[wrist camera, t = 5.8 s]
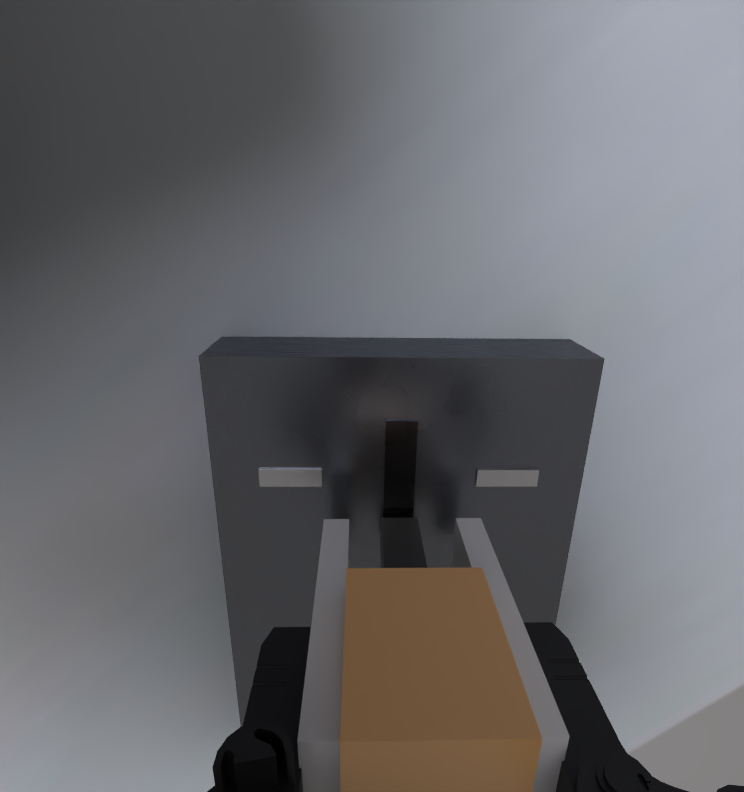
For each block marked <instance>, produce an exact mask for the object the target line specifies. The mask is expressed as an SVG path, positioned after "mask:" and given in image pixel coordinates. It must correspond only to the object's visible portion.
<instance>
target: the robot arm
mask: <svg viewBox="0 0 744 792" xmlns="http://www.w3.org/2000/svg"><path fill="white" fill-rule="evenodd" d="M481 567H482V569H483V571H484V574H485V577H486V580H487V583H488V586H489V589H490V591H491V594H492V597H493V600H494V603H495V606H496V608H497V611H498V614H499V617H500V620H501V623H502V625H503V628H504V631H505V634H506V637H507V640H508V642H509V645H510V648H511V651H512V654H513V657H514V659H515V662H516V665H517V668H518V671H519V674H520V676H521V679H522V682H523V685H524V688H525V691H526V693H527V696H528V699H529V702H530V705H531V708H532V711H533V713H534V716H535V719H536V722H537V725H538V728H539V730H540V733H541V736H542V744H541V749H540V754H539V759H538V764H537V769H536V775H535V780H534V785H533V790H532V792H688V791H685V790H682V789H678V788H676V787H673V786H670V785H668V784H665V783H663V782H660V781H659V780H657V779H656V778H654V777H652V776H651V774H650V773H649V772H648V771H647V770H646V769H645V768H644V767H643V766H642V765H641V764H640V763H639V762H638V760H636V759H634V758H633V757H631V756H630V755H628V754H627V753H626V751H625V749H624V748H623V746H622V745H621V743H620V741H619V739H618V737H617V735H616V733H615V731H614V729H613V727H612V725H611V723H610V721H609V719H608V717H607V715H606V713H605V711H604V709H603V707H602V705H601V703H600V701H599V699H598V697H597V695H596V693H595V691H594V689H593V687H592V685H591V683H590V681H589V680H588V679H587V675H586V673H585V671H584V669H583V667H582V665H581V663H579V659H578V657H577V655H576V653H575V651H574V649H573V647H572V645H571V643H570V641H569V639H568V638H567V637H566V636H565V635H564V634H563V633H562V632H561V631H560V630H559V629H558V628H557V627H556V626H555V625H554V624H553V623H552V622H526V623H523V620H522V618H521V616H520V613H519V611H518V608H517V606H516V603H515V601H514V598H513V596H512V593H511V591H510V589H509V586H508V584H507V581H506V579H505V576H504V574H503V571H502V569H501V566H500V564H499V562H498V559H497V557H496V554H495V552H494V549H493V547H492V544H491V542H490V539H489V537H488V535H487V532H486V530H485V527H484V525H483V522H482V520H481V518H456V522H455V535H454V548H453V560H452V568H481ZM346 568H350V552H349V519H324V522H323V531H322V539H321V547H320V556H319V564H318V573H317V581H316V589H315V598H314V606H313V615H312V623H311V627H274V628H273V629H272V631H271V632H270V633H269V635H268V636H267V638H266V639H265V640H264V642H263V643H262V645H261V648H260V653H259V657H258V661H257V668H256V670H255V674H254V679H253V685H252V687H251V692H250V696H249V700H248V705H247V709H246V713H245V718H244V722H243V726H242V727H240V728H239V729H238V730H236V731H235V732H234V733H232V734H231V735H230V736H229V737H227V739H226V740H225V741H224V743H223V744H222V746H221V747H220V749H219V750H218V751H217V755H216V758H215V761H214V765H213V773H214V780H215V786H214V787H213V788H211V789H210V790H209V791H208V792H340V724H341V697H342V671H343V645H344V619H345V592H346ZM717 792H744V786H736V785H727V786H725V787H722V788H720V789H718V790H717Z"/></svg>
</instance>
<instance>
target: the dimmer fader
mask: <svg viewBox="0 0 744 792" xmlns="http://www.w3.org/2000/svg"><path fill="white" fill-rule="evenodd" d="M380 556H381V568H346V592H345V619H344V645H343V671H342V697H341V724H340V792H532V790H533V785H534V780H535V775H536V769H537V764H538V759H539V754H540V749H541V744H542V736H541V733H540V730H539V728H538V725H537V722H536V719H535V716H534V713H533V711H532V708H531V705H530V702H529V699H528V696H527V693H526V691H525V688H524V685H523V682H522V679H521V676H520V674H519V671H518V668H517V665H516V662H515V659H514V657H513V654H512V651H511V648H510V645H509V642H508V640H507V637H506V634H505V631H504V628H503V625H502V623H501V620H500V617H499V614H498V611H497V608H496V606H495V603H494V600H493V597H492V594H491V591H490V589H489V586H488V583H487V580H486V577H485V574H484V571H483V569H482V567H481V568H427V563H426V558H425V553H424V548H423V543H422V538H421V533H420V527H419V522H418V518H381V527H380Z"/></svg>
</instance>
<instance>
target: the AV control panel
mask: <svg viewBox="0 0 744 792" xmlns="http://www.w3.org/2000/svg"><path fill="white" fill-rule="evenodd" d="M199 361H200V370H201V379H202V388H203V396H204V405H205V414H206V423H207V432H208V440H209V449H210V458H211V467H212V476H213V485H214V493H215V502H216V511H217V520H218V529H219V538H220V546H221V555H222V564H223V573H224V582H225V591H226V599H227V608H228V617H229V626H230V635H231V643H232V652H233V661H234V670H235V679H236V688H237V696H238V705H239V714H240V723H241V727H242V726H243V722H244V718H245V713H246V709H247V705H248V700H249V696H250V692H251V687H252V685H253V679H254V674H255V670H256V668H257V661H258V657H259V653H260V648H261V645H262V643H263V642H264V640H265V639H266V638H267V636H268V635H269V633H270V632H271V631H272V629H273V628H274V627H311V623H312V615H313V606H314V598H315V589H316V581H317V573H318V564H319V556H320V547H321V539H322V531H323V522H324V519H349V552H350V568H381V556H380V527H381V518H418V522H419V527H420V533H421V538H422V543H423V548H424V553H425V558H426V563H427V568H452V560H453V548H454V535H455V522H456V518H481V520H482V522H483V525H484V527H485V530H486V532H487V535H488V537H489V539H490V542H491V544H492V547H493V549H494V552H495V554H496V557H497V559H498V562H499V564H500V566H501V569H502V571H503V574H504V576H505V579H506V581H507V584H508V586H509V589H510V591H511V593H512V596H513V598H514V601H515V603H516V606H517V608H518V611H519V613H520V616H521V618H522V620H523V623H526V622H552V623H553V624H554V625H555V623H556V618H557V612H558V607H559V601H560V596H561V590H562V585H563V580H564V574H565V569H566V563H567V558H568V553H569V547H570V542H571V536H572V531H573V526H574V520H575V515H576V509H577V504H578V498H579V493H580V488H581V482H582V477H583V471H584V466H585V461H586V455H587V450H588V444H589V439H590V434H591V428H592V423H593V417H594V412H595V407H596V401H597V396H598V390H599V385H600V379H601V374H602V369H603V363H604V358H602V357H600V356H598V355H597V354H595V353H593V352H591V351H590V350H588V349H586V348H584V347H583V346H581V345H579V344H577V343H576V342H574V341H572V340H570V339H454V338H323V337H221V338H220V339H219V340H217V341H216V342H215V343H214V344H213V345H212V346H210V347H209V348H208V349H207V350H206V351H204V352H203V353H202V354H201V355H200V356H199Z"/></svg>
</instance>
